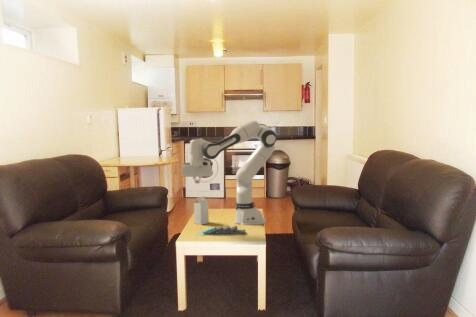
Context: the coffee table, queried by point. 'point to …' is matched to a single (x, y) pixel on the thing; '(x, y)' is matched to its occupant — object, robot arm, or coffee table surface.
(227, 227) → the domino
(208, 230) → the domino
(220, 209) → the coffee table surface
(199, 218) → the milk carton
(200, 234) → the runner mat
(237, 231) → the domino
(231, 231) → the domino
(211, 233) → the domino
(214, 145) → the robot arm
